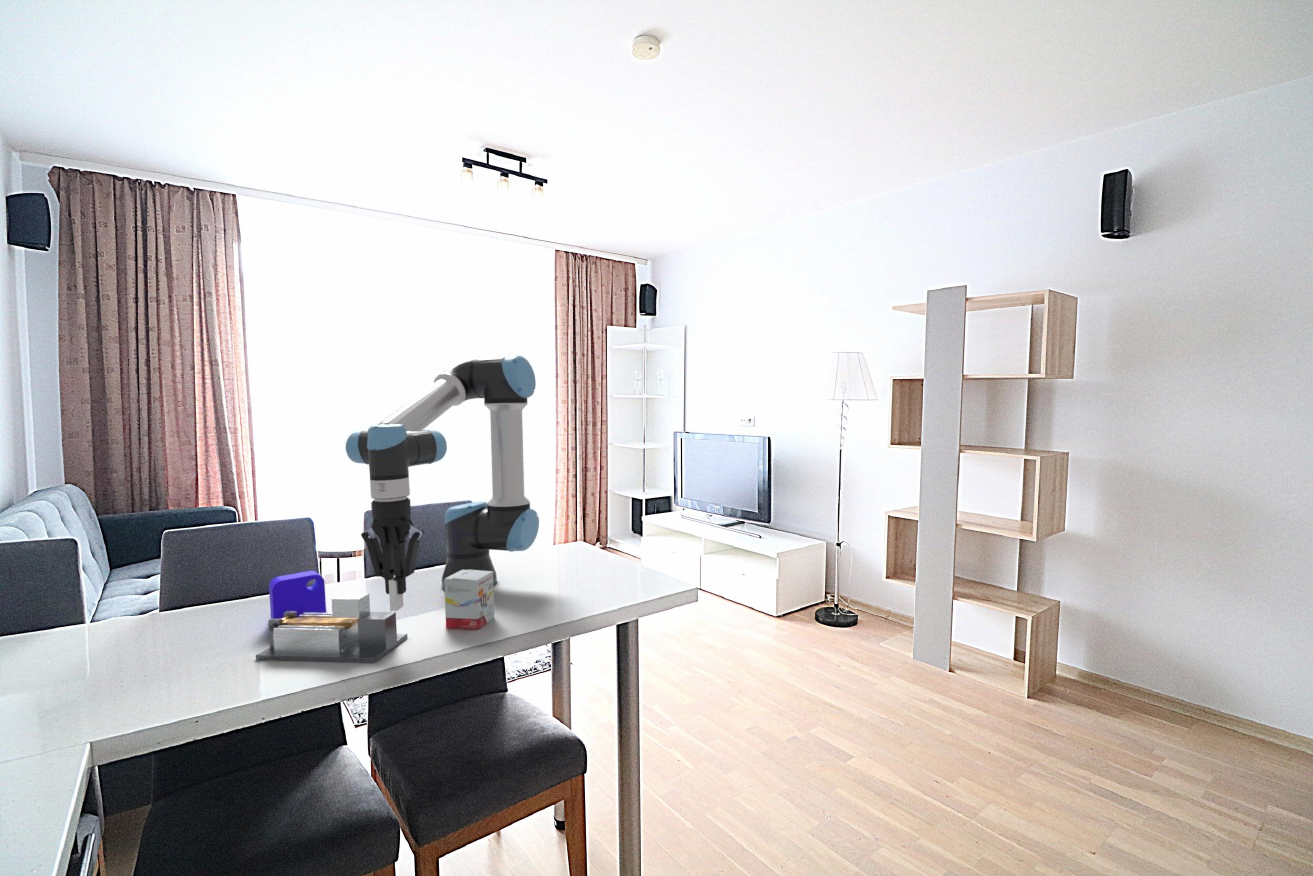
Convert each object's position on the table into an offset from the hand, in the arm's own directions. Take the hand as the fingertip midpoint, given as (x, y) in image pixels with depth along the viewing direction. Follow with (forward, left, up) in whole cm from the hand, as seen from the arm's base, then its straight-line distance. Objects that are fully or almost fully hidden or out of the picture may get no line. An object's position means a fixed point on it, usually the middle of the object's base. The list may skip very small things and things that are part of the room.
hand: (397, 608), depth 131 cm
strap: (0, -18, -4) cm, 19 cm away
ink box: (-16, +9, -9) cm, 21 cm away
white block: (0, -10, -1) cm, 10 cm away
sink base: (0, -15, -9) cm, 17 cm away
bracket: (-18, -38, -9) cm, 43 cm away
